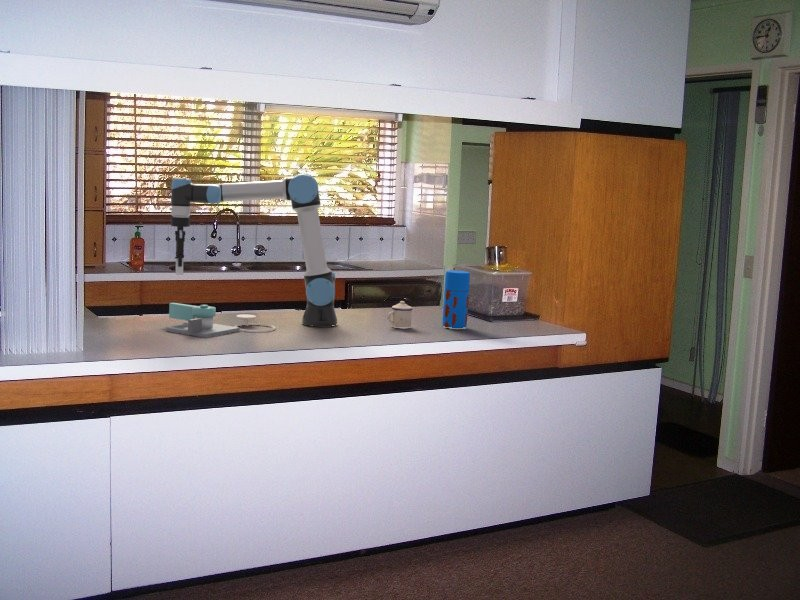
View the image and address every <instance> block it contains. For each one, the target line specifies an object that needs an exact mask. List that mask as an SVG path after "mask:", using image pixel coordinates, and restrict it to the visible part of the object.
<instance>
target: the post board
mask: <svg viewBox="0 0 800 600" xmlns="http://www.w3.org/2000/svg"><path fill="white" fill-rule="evenodd" d="M213 322H214V317H196V316H195V319H190V320H188V321H187V322H183V323H182V324H179V325H178V324H177V325H173V326H167V327H166V332H168V331H170V332H169V333H174V332H175V333H176V334H180V333H181V334H182V335H186V336H192V337H199V338H205V339H207V338H212V337H218V336H222V335H221V334H224V335H226V334H225V333H229V334H231V333H230V332H234V333H237V332H236V331H239V332H241V331H240V329H241V327H234V326H232V325H231V326H230V325H225V324H220V323H213ZM217 335H218V336H217Z"/></svg>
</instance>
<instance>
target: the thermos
mask: <svg viewBox="0 0 800 600" xmlns="http://www.w3.org/2000/svg"><path fill="white" fill-rule="evenodd" d="M444 275H445V276H444V287H443V288H444V290H443V291H444V292H443V306H442V327H443V326H445V327H452V328H463V327H466V328H467V324H468V323H467V322H468V310H469V299H470V298H469V295H470V281H471V280H470V279H471V274H470V272H469V271H465V270H464V271H463V270H445V274H444Z"/></svg>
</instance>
